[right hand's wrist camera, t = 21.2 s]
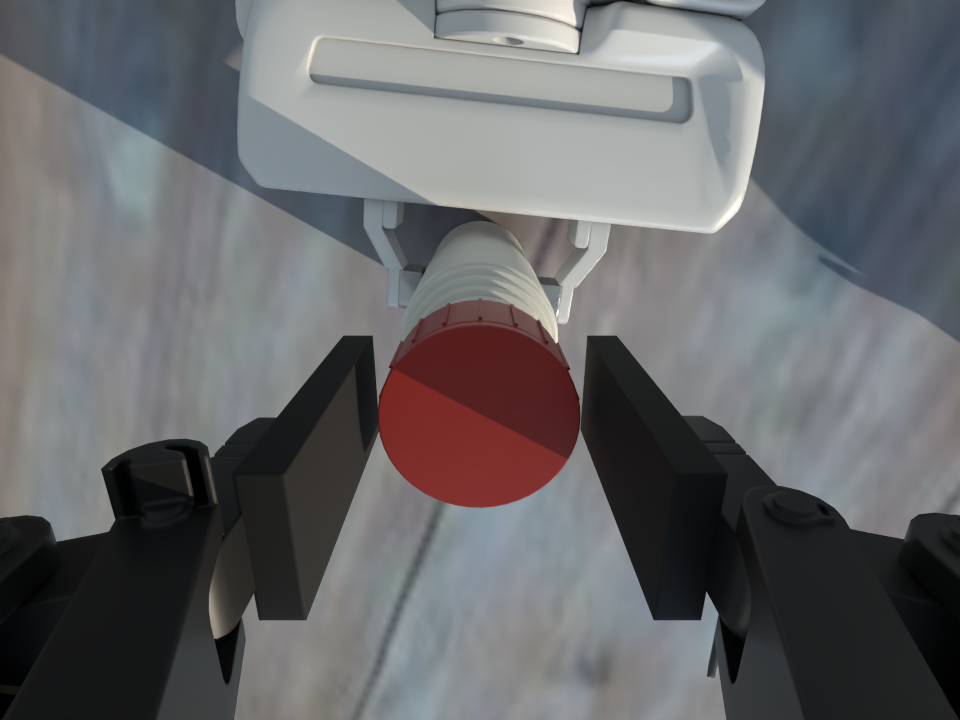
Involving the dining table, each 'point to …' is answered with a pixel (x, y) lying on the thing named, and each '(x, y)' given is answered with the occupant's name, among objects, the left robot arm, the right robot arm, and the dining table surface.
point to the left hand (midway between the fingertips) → (478, 312)
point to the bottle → (479, 276)
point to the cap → (479, 405)
